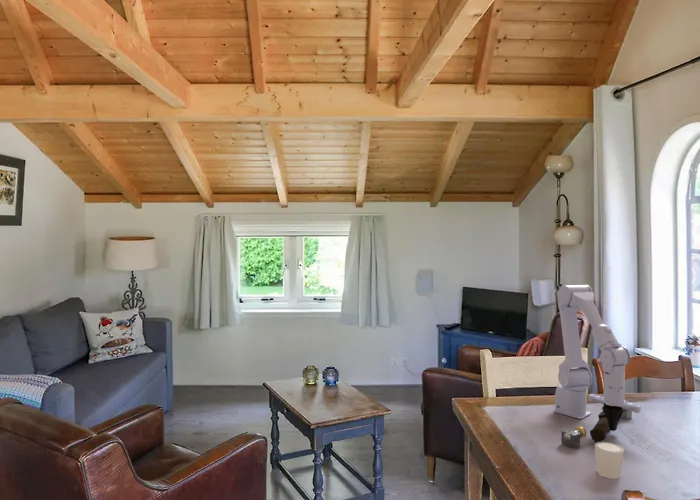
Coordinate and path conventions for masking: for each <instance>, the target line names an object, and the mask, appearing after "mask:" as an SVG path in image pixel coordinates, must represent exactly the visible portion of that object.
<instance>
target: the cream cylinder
mask: <svg viewBox="0 0 700 500" xmlns="http://www.w3.org/2000/svg"><path fill="white" fill-rule="evenodd" d="M624 453H625V448H624V447H623V446H621V445H619V444H617V443H613V442H609V441H600V442H595V443H594V455H595V466H596V473H597V472H598V473H597V474H598V475H599V474H600V475H599V476H601V477H603V476H604V478H606V477H607V479H609V480H610V479H611V480H612V479H615V480H617V479H620V478H621V476H622V469H623V462H624V461H623V460H624Z"/></svg>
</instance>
